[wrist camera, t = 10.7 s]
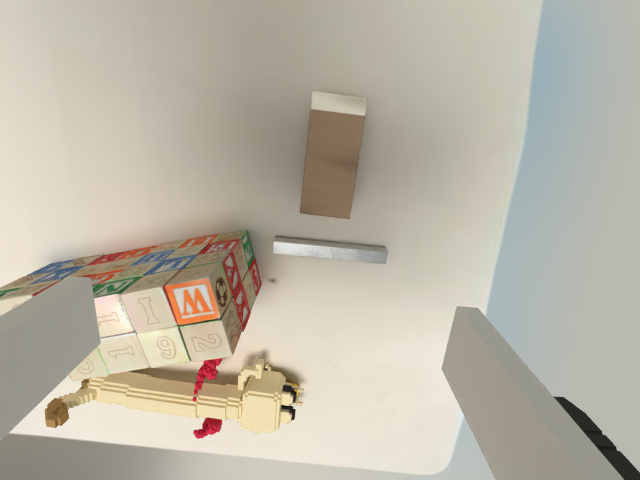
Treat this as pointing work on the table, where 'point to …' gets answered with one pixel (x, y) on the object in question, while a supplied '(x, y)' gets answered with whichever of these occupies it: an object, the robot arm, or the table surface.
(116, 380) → the cream long toy figure
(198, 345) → the stack of blocks
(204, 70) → the table surface
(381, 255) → the grey bar
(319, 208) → the walnut block
